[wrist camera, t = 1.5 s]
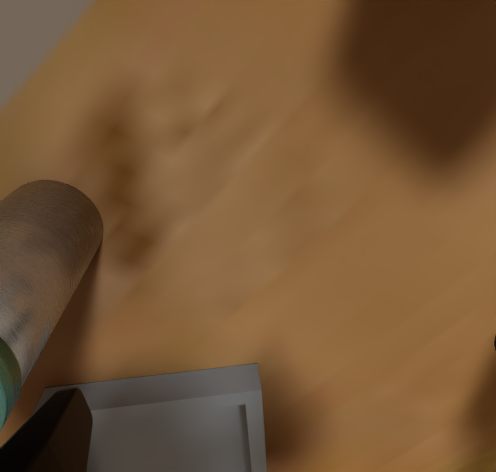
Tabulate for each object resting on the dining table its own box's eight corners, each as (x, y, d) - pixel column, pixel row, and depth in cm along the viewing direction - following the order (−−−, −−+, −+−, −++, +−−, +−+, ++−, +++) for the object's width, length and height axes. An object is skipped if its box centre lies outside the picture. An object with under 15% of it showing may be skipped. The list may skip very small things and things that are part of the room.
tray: (257, 363, 24) (261, 390, 22) (266, 489, 30) (269, 519, 28) (41, 388, 23) (26, 418, 21) (92, 512, 29) (84, 544, 27)
